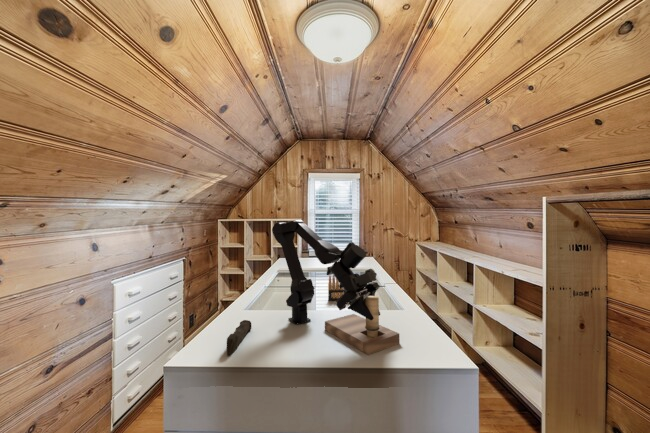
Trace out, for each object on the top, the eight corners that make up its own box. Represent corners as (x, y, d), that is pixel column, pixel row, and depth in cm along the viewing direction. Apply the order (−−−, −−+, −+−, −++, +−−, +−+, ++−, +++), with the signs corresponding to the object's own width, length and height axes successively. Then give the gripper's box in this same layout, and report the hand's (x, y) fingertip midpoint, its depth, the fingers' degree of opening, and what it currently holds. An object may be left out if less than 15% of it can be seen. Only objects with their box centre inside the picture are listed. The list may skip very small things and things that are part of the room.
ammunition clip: (328, 301, 131) (327, 275, 132) (328, 299, 133) (328, 274, 133) (350, 300, 131) (350, 275, 131) (350, 299, 133) (350, 274, 133)
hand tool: (240, 330, 97) (240, 317, 97) (251, 330, 97) (251, 317, 97) (217, 357, 78) (217, 341, 78) (231, 357, 78) (231, 341, 78)
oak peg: (363, 335, 88) (363, 295, 88) (377, 334, 89) (376, 295, 89) (367, 341, 84) (367, 299, 84) (381, 340, 84) (380, 299, 84)
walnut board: (324, 329, 97) (324, 321, 97) (353, 321, 104) (353, 313, 104) (368, 355, 78) (367, 344, 78) (399, 343, 86) (399, 333, 86)
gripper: (344, 265, 82) (378, 310, 75) (374, 258, 96) (405, 295, 89) (323, 288, 86) (353, 332, 79) (355, 278, 101) (383, 314, 94)
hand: (376, 317), depth 85 cm, fingers closed on oak peg, 4 cm apart
